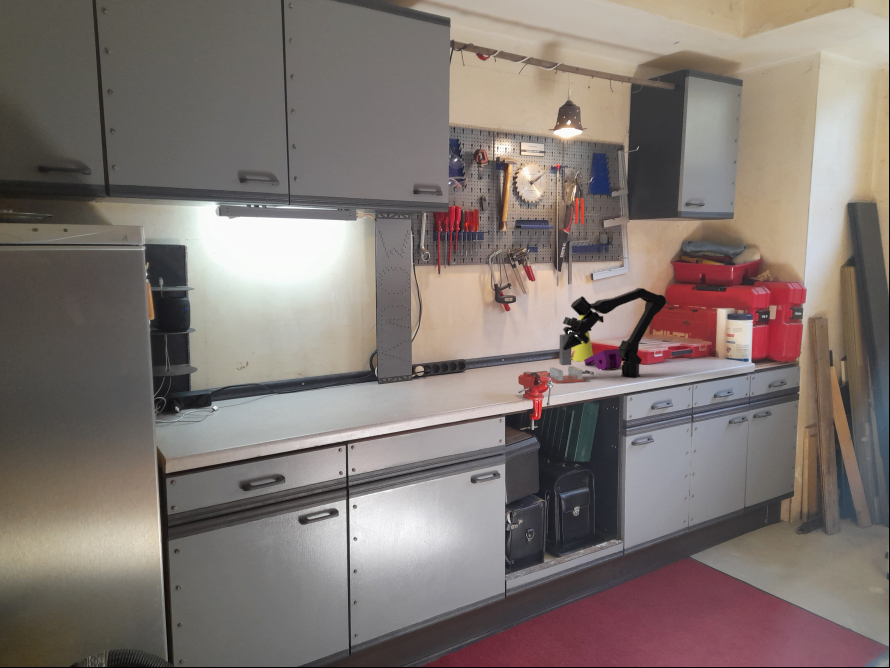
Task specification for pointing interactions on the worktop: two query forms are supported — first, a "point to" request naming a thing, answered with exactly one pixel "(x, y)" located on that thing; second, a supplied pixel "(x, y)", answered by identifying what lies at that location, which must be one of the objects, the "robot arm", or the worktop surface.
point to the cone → (583, 349)
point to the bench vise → (572, 376)
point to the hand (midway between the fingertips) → (562, 348)
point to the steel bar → (564, 354)
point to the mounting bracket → (605, 359)
